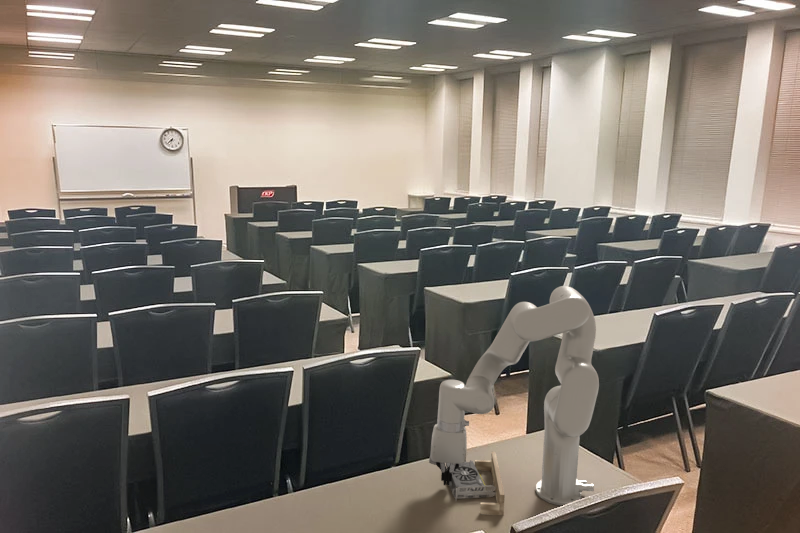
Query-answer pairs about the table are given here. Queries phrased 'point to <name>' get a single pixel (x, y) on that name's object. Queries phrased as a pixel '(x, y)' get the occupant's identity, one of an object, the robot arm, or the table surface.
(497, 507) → the birch bracket
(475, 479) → the graphics card
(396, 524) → the table surface
